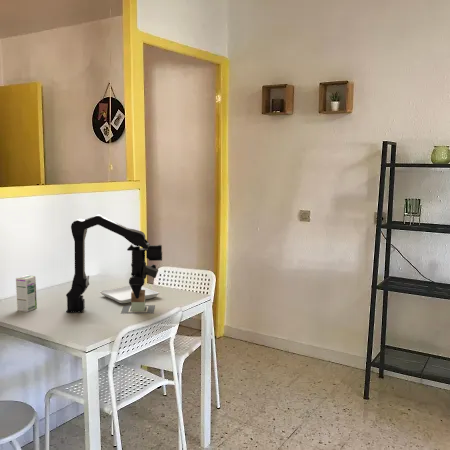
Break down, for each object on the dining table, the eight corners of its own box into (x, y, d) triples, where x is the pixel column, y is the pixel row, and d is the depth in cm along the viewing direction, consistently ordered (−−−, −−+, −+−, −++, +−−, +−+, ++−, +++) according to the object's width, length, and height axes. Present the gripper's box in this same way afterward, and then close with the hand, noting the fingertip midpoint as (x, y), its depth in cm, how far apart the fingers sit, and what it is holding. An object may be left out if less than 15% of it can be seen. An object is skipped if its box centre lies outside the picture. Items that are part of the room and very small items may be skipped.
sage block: (131, 311, 209) (131, 302, 209) (132, 307, 215) (132, 298, 214) (144, 311, 210) (144, 302, 209) (145, 307, 215) (145, 298, 215)
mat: (120, 314, 206) (120, 313, 206) (123, 306, 218) (123, 305, 218) (153, 314, 207) (153, 313, 207) (155, 306, 219) (155, 305, 219)
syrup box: (27, 312, 206) (26, 278, 205) (16, 310, 208) (15, 277, 207) (37, 308, 212) (36, 276, 210) (26, 306, 214) (25, 274, 212)
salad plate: (98, 297, 233) (98, 290, 232) (137, 290, 247) (137, 283, 246) (120, 307, 217) (120, 300, 216) (160, 299, 231) (160, 292, 230)
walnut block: (131, 302, 209) (131, 293, 208) (132, 298, 214) (132, 289, 214) (144, 302, 209) (144, 293, 209) (145, 298, 215) (145, 289, 214)
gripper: (156, 265, 201) (155, 301, 203) (158, 256, 220) (157, 290, 222) (128, 264, 200) (128, 301, 202) (133, 256, 219) (133, 290, 221)
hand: (138, 295), depth 212 cm, fingers open, 9 cm apart
